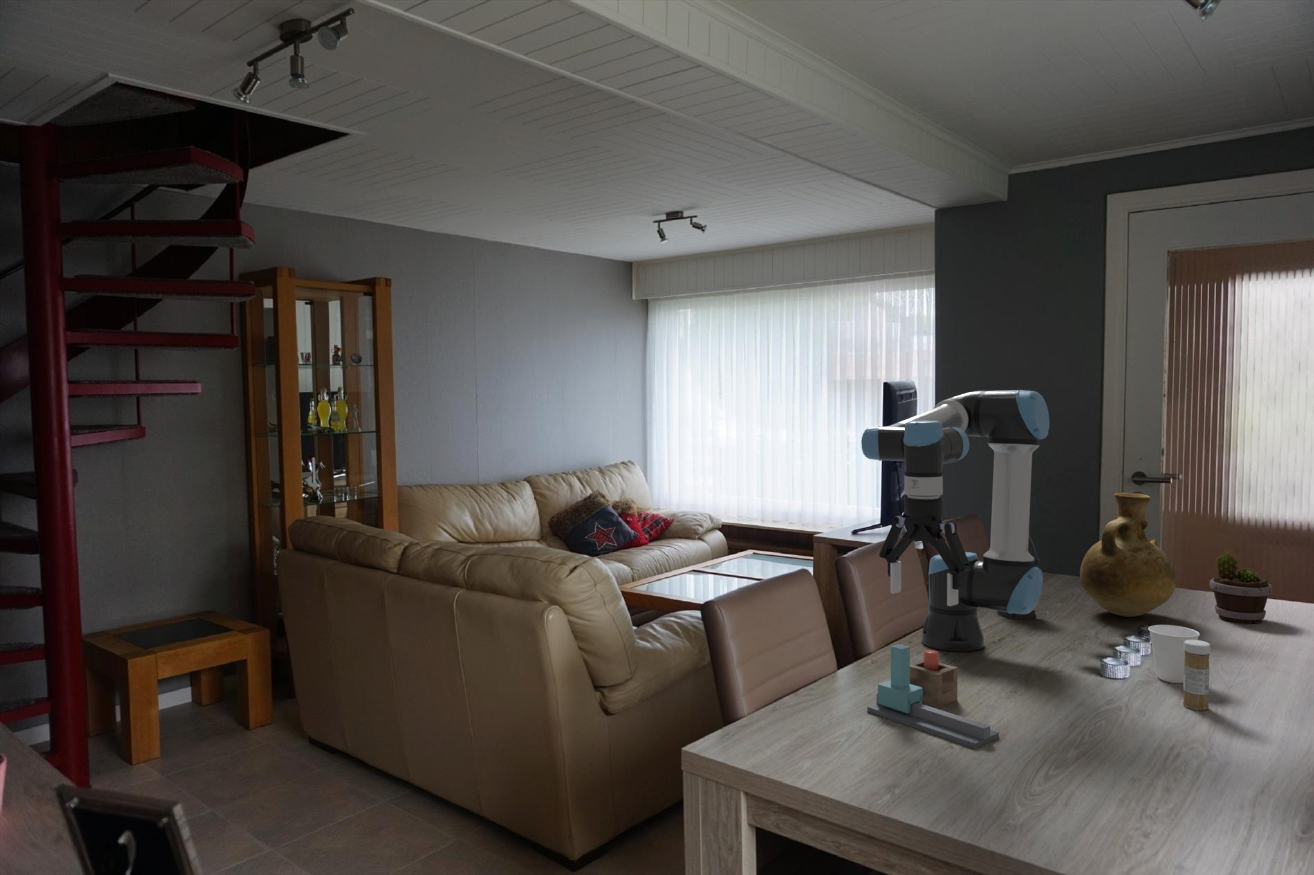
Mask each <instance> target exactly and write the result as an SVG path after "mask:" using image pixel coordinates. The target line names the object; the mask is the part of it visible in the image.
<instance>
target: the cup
mask: <svg viewBox="0 0 1314 875" xmlns="http://www.w3.org/2000/svg"><path fill="white" fill-rule="evenodd" d="M1147 630H1148V631H1149V637H1150V642H1151V646H1152V647H1151V648H1152V653H1153V660H1154V666H1155V671H1156V677H1157V678H1158V679H1160V680H1161V681H1163V682H1166V683H1171V684H1184V663H1185V650H1184V641H1186V640H1199V637H1200V636H1201V634H1200V632H1199V631H1197V630H1196V629H1192V628H1190V627H1185V626H1181V625H1171V624H1155V625H1151V626H1148V629H1147Z"/></svg>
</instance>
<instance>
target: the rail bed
mask: <svg viewBox="0 0 1314 875" xmlns="http://www.w3.org/2000/svg"><path fill="white" fill-rule="evenodd" d="M866 711H867V713H870V714H873V715H877V716H879V717H882V718H885V719H888V720H890V721H893V722H897V723H899V724H902V725H905V726H908V727H911V728H914V729H917V730H919V731H921V732H925V733H927V734H928V733H929V734H931V735H934V736H937V737H939V738H942V739H945V740H948V741H951V742H954V743H957V744H960V745H963V746H966V747H968V748H971V749H974V750H976V749H978V748H980V747H982V746H984V745H986V744H989V743H991V742H994V741H995V740H998V739H999V738H1000V732H998V731H996V730H992V729H991V725H989V724H985V723H982V722H979V721H976V720H973V719H971V718H966V717H964V716H960V715H958V714H955V713H951V712H948V711H945V710H942V709H940V708H935V707H932V706H929V705H926V704H923V703H922V704H920V703H917V702H915V703H912V704H910V713H905V712H902V711H899V710H896V709H893V708H890V707H887V706H884V705H881V704H878V692H877V693H876V703H874V704H870V705H869V706H867V709H866Z"/></svg>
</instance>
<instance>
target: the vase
mask: <svg viewBox="0 0 1314 875" xmlns="http://www.w3.org/2000/svg"><path fill="white" fill-rule="evenodd" d="M1113 496H1114V498H1115V500H1116V506H1117V510H1116V511H1117V514H1116V515H1117V516H1116V517H1115V519H1113V520H1111V521H1109V522H1108V523H1107V524H1106V525H1105V527H1104V528H1103V531H1102V535H1101V540H1099V541H1097V542H1096V543H1095V544H1093V545H1091V547H1090V548H1089V549H1088V550H1087V552H1086V553H1085V555H1084V557H1083V559H1082V561H1081V565H1080V569H1079V578H1080V583H1081V586H1082V588H1083V590H1084V591H1085V594H1087V595H1088V597H1089V598H1091V599H1092V601H1094V602H1095V603H1096V604H1097V605H1098V606H1100V607H1101V608H1102V609H1104V610H1106V611H1107V612H1109V613H1111V614H1113V615H1116V616H1120V617H1126V618H1130V617H1131V618H1132V617H1139V616H1142V615H1145V614H1147V613H1149V612H1151V611H1153V610H1155V609H1157V608H1159V607H1161V606H1162V605H1163V604H1164V603H1166V602H1167V601H1168V600H1170V598H1171V597H1172V596H1173V594H1174V591H1175V589H1176V584H1177V576H1176V571H1175V569H1174V566H1173V564H1172V562H1171V561H1170V559H1169V557H1168V556H1167V554H1165V552H1164V551H1163V550H1162V549H1161V548H1160V547H1158V544H1157V543H1158V542H1157V540H1156V539H1152V540H1148V538H1147V536H1146V532H1145V529H1147V527H1148V521H1147V519H1146V517H1145V516H1146V510H1147V506H1148V504H1149V502H1150V500H1151V496H1150V495H1147V494H1143V493H1131V492H1116V493H1114V495H1113Z"/></svg>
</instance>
